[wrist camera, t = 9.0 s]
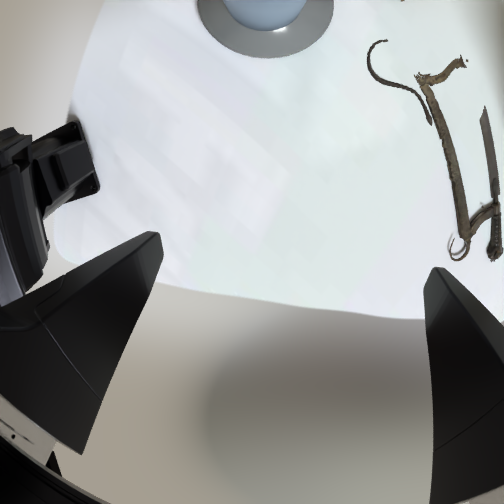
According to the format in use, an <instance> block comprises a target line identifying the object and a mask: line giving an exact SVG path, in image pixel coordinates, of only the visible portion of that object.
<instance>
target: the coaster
mask: <svg viewBox="0 0 504 504" xmlns="http://www.w3.org/2000/svg"><path fill="white" fill-rule="evenodd" d="M198 8H199V14H200V17H201V20H202V22H203V24H204V26H205V27H206V29H207V30H208V32H209V33H210V34H211V35H212V36H213V37H214V38H215V39H216V40H217V41H218V42H220V43H221V44H222V45H224V46H225V47H227V48H228V49H230V50H232V51H234V52H237V53H240V54H242V55H246V56H250V57H256V58H280V57H285V56H289V55H292V54H295V53H298V52H300V51H302V50H304V49H306V48H307V47H309V46H311V45H312V44H313V43H314V42H316V41H317V40H318V39H319V38H320V37H321V36H322V35H323V34H324V32H325V31H326V30H327V28H328V26H329V24H330V22H331V19H332V16H333V9H334V1H333V0H307V1H306V3H305V4H304V6H303V8H302V10H301V12H300V13H299V15H298V17H297V18H296V19H295V20H294V21H293V22H292V23H290V24H289V25H287V26H286V27H283V28H281V29H278V30H273V31H257V30H252V29H249V28H247V27H245V26H243V25H241V24H239V23H238V22H237V21H236V20H235V19H234V18H233V17H232V16H231V14H230V13H229V11H228V9H227V7H226V5H225V3H224V1H223V0H198Z"/></svg>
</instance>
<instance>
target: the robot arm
mask: <svg viewBox="0 0 504 504" xmlns="http://www.w3.org/2000/svg"><path fill="white" fill-rule="evenodd" d="M73 125H75V126H76V128H75V129H74V127H73ZM94 169H95V168H94V165H93V162H92V159H91V156H90V153H89V149H88V146H87V143H86V141H85V138H84V135H83V132H82V128H81V125H80V122H79V121H77V120H75V121H72V122H70V123H68V124H66V125H64V126H62V127H60V128H58V129H56V130H54V131H52V132H50V133H48V134H46V135H44V136H42V137H41V138H39V139H37V140H35V141H33V142H32V135H24V134H19V133H17V131H16V130H15V129H14V127H10V128H7V129H4V130H2V131H0V504H110V503H108V502H106V501H104V500H102V499H100V498H98V497H96V496H94V495H92V494H90V493H88V492H87V491H85V490H83V489H81V488H79V487H78V486H76V485H74V484H73V483H71V482H69V481H67V480H66V479H64V478H63V477H62V475H61V472H60V469H59V466H58V463H57V460H56V456H55V453H54V451H52V450H53V448H54V446H55V443H56V441H57V442H59V443H61V444H62V445H64V446H66V447H67V448H69V449H71V450H73V451H74V452H76V453H78V454H80V455H82V454H83V451H84V449H85V446H86V443H87V440H88V438H89V435H90V432H91V429H92V427H93V424H94V422H95V419H96V416H97V414H98V411H99V409H100V406H101V403H102V400H103V398H104V396H105V393H106V391H107V388H108V386H109V383H110V381H111V379H112V376H113V374H114V372H115V369H116V367H117V365H118V362H119V360H120V358H121V355H122V353H123V351H124V349H125V346H126V344H127V342H128V340H129V338H130V335H131V333H132V331H133V329H134V327H135V325H136V322H137V320H138V318H139V316H140V314H141V312H142V310H143V308H144V306H145V304H146V301H147V299H148V297H149V295H150V292H151V290H152V287H153V284H154V282H155V279H156V276H157V273H158V271H159V268H160V265H161V263H162V260H163V256H164V252H163V247H162V242H161V237H160V234H159V233H158V232H152V231H147V232H145V233H142V234H140V235H138V236H136V237H134V238H132V239H130V240H128V241H126V242H124V243H122V244H120V245H118V246H117V247H115V248H113V249H111V250H109V251H107V252H105V253H103V254H101V255H99V256H97V257H95V258H93V259H92V260H90V261H88V262H86V263H84V264H82V265H80V266H79V267H77V268H75V269H73V270H71V271H69V272H68V273H66V274H65V275H62V276H60V277H59V278H57V279H55V280H53V281H51V282H50V283H48V284H46V285H44V286H42V287H40V288H38V289H36V290H34V291H32V292H30V293H28V294H25V292H27V291H28V290H29V289H30V288H32V286H33V285H34V284H35V283H37V281H38V280H39V279H40V278H41V277H42V275H43V270H42V269H43V268H44V266H45V264H46V262H47V260H48V251H49V248H50V245H49V241H48V240H47V237H46V233H45V229H44V224H43V220H44V219H45V218H47V217H48V216H49V215H50V214H51V213H52V212H54V211H55V210H56V209H57V208H59V207H60V206H61V205H62V204H65V203H68V202H71V201H74V200H77V199H80V198H83V197H86V196H89V195H93V194H95V193H97V192H98V191H99V190H100V184H99V182H98V179H97V176H96V173H95V170H94ZM93 186H95V189H94V188H93ZM423 294H424V308H425V324H426V337H427V345H428V353H429V362H430V371H431V384H432V400H433V465H432V481H431V493H430V502H429V504H461V503H465V502H468V501H469V504H504V326H503V325H502V324H501V323H500V322H499V321H498V320H497V319H496V318H495V317H494V316H493V315H492V314H491V312H490V311H489V310H488V309H487V308H486V307H485V306H484V305H483V304H482V303H481V302H480V301H479V300H478V299H477V298H476V297H475V296H474V295H473V294H472V293H471V292H470V291H469V290H468V289H467V288H466V287H465V286H463V285H462V284H461V283H460V282H459V281H458V280H457V279H456V278H455V277H454V276H453V275H452V274H451V273H450V272H449V271H447V270H446V269H445V268H441V267H434V268H433V269H432V270H431V272H430V275H429V277H428V279H427V281H426V283H425V286H424V290H423Z"/></svg>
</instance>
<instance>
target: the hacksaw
mask: <svg viewBox="0 0 504 504" xmlns="http://www.w3.org/2000/svg"><path fill="white" fill-rule="evenodd" d="M382 41H383V42H387V41H388V40H387V39H386V40H379V41H377V42H375V43H373V45H372V46H371V47H370V49H369V51H368V53H367V55H368V56H367V66H368V70H369V71H370V73H371V75H372V76H373V77H374V79H375V80H376V81H378V82H380V83H381V84H384V85H387V86H392V87H397V88H402V89H406V90H407V91H411V93H415V95H416V96H417V97H418V99H419V101H420V102H421V105H422V106H423V109H424V112H425V115H426V119H427V121H428V123H429V124H430V125H431V126H432V117H433V120H434V123H435V125H436V128H437V131H438V134H439V136H440V139H442V147H443V148H444V154H445V157H446V160H447V163H448V165H447V167H448V171H449V174H450V177H449V178H450V180H451V181H452V190H453V196H454V200H455V206H456V212H457V220H458V228H459V235H460V238H462V239H464V240H465V244H466V251H465V253H464V254H463V255H462V256H461V257H460V258H458V259H454V258H453V257H452V255H451V247H452V244H453V242H452V244H451V246H450V251H449V252H450V257H451V259H452V260H454V261H460V260H462V259H463V258H464V257H466V255H467V254H468V252H469V250H470V242H471V240H470V239H471V238H472V236H473V235H474V234H476V231H477V229H478V228H479V227H480V225H481V224H482V223H483V222H484V221H485V220H487V219H489V218H491V217H492V226H491V243H490V245H489V248H488V250H487V254H488V258H490V259H491V260H490V261H491V262H492V261H493V259H494V262H495V259H498V258H499V257H500V256H501V255H502V254H503V247H502V238H501V212H500V202H499V201H498V195H500V188H499V187H500V186H499V185H500V184H499V178H498V177H499V176H498V170H497V169H498V168H497V162H496V161H497V160H496V155H495V149H494V148H495V147H494V143H493V138H492V132H491V127H490V123H489V118H488V114H487V110H486V107H485V106H484V109H483V113H482V116H481V118H480V125H481V129H482V134H483V140H484V145H485V151H486V157H487V164H488V172H489V179H490V188H491V197H492V198H493V197H494V203H492V204H491V207H489V208H488V209H486V208H484V207H483V206H482V208H484V209H486V210H485V211H483V212H482V213H480V214H479V215H478V216H477V217H476V218H475V219H474V220H473V222H472V223H471V225H470V223H469V216H468V209H467V204H466V197H465V193H464V186H463V183H462V178H461V173H460V169H459V164H458V161H457V156H456V153H455V149H454V146H453V143H452V139H451V136H450V133H449V130H448V127H447V124H446V121H445V119H444V116H443V114H442V112H441V110H440V108H439V104H438V102H437V100H436V99H435V96H434V93H433V91H432V90H431V88H430V87H429V85H430V86H433V85H434V84H438V83H441V82H443V81H445V80H446V79H447V78H448V76H449V75H450V73H451V72H452V71H453V70H454V69H455V68H457V69H458V68H459V67H464V68H467V67H466V65H465V64H464V62H463V59H462V56H461V55H460V56H461V57H460V59H455V60H453V61H452V62H451V63H450V64H449V65H448V66H447V68H446V69H445V70H444V71H443V72H442V73H440V74H438V75H435V76H429V75H430V74H428V75H422V74H420V72H418V74H419V75H420V76H423V77H422V79H421V77H420V76H419V75H416V76H415V75H414V77H415V78H416V80H417V79H418V78H419V79H418V80H417V83H419V85H421V86H420V88H421V91H422V92H423V94H424V95H425V96H426V101H427V104H428V106H429V109H430V112H431V114H432V117H431V116H430V114H429V112H428V110H427V107H426V105H425V104H424V101H423V100H422V98H421V96H420V95H419V94H418V93H417V92H416V91H415V90H413V89H412V88H409V87H408V86H404V85H401V84H398V83H394V82H389V81H386V80H383V79H381V78H379V76H378V75H376V74H375V72H374V70H373V69H372V67H371V63H370V53H371V51H372V49H373V48H374V47H375V45H376V44H379V43H381V42H382ZM466 61H467V62H468V60H466ZM417 76H418V77H417ZM424 76H425V77H424ZM454 239H455V238H454ZM454 239H453V241H454Z"/></svg>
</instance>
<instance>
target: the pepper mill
mask: <svg viewBox="0 0 504 504" xmlns="http://www.w3.org/2000/svg"><path fill="white" fill-rule="evenodd" d="M223 1H224V3H225V5H226V7H227V9H228V11H229V13H230V14H231V16H232V17H233V18H234V19H235V20H236V21H237V22H238V23H239V24H241V25H243V26H245V27H247V28H249V29H252V30H257V31H273V30H278V29H281V28H283V27H286V26H287V25H289V24H290V23H292V22H293V21H294V20H295V19H296V18H297V17H298V15H299V13H300V12H301V10H302V8H303V6H304V4H305V3H306V1H307V0H223Z"/></svg>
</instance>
